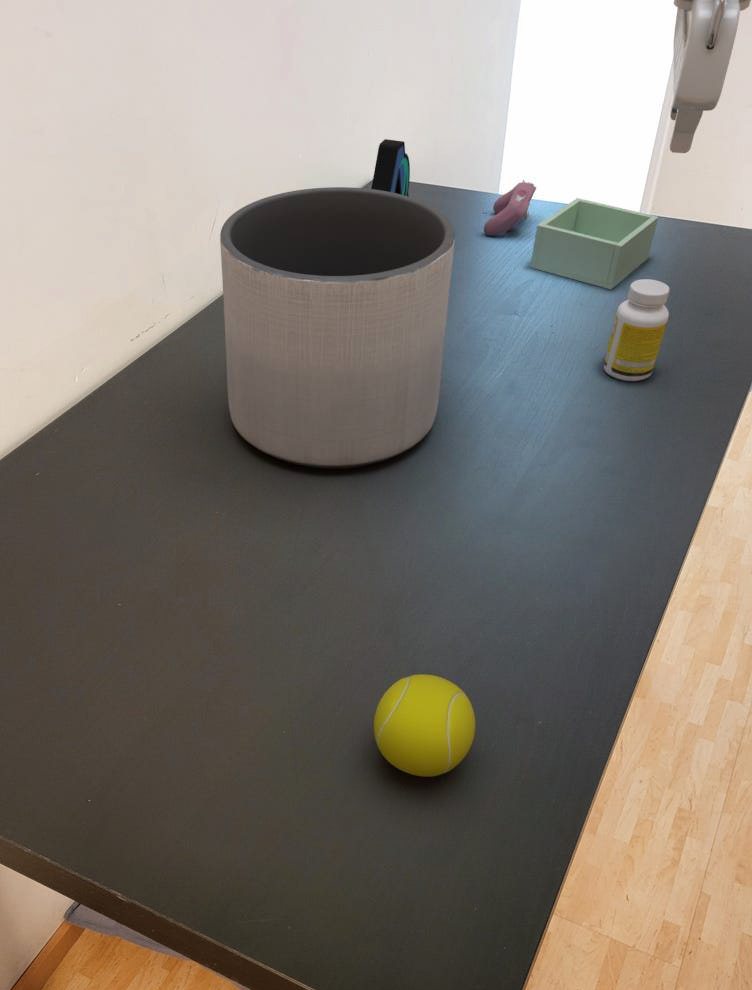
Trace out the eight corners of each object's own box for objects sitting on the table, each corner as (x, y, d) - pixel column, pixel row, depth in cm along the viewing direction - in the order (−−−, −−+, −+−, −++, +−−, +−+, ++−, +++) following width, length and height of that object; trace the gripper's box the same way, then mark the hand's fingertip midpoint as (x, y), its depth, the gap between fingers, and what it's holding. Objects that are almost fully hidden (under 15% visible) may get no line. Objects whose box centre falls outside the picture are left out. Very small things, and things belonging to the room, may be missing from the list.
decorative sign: (368, 289, 122) (374, 167, 112) (351, 286, 123) (355, 164, 113) (416, 235, 134) (426, 120, 124) (400, 232, 135) (408, 118, 125)
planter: (254, 359, 110) (247, 180, 96) (443, 375, 106) (464, 190, 92) (207, 466, 95) (190, 271, 81) (426, 488, 91) (448, 289, 77)
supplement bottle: (661, 378, 105) (687, 293, 98) (618, 386, 104) (641, 301, 97) (635, 355, 109) (658, 272, 102) (593, 363, 108) (613, 280, 101)
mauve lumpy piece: (506, 250, 134) (536, 207, 128) (479, 232, 133) (508, 188, 128) (516, 224, 140) (545, 182, 135) (491, 207, 140) (519, 164, 134)
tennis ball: (358, 776, 67) (362, 713, 62) (389, 708, 72) (396, 643, 67) (453, 808, 65) (465, 745, 60) (479, 735, 69) (492, 671, 64)
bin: (647, 258, 127) (658, 216, 123) (611, 289, 121) (621, 246, 117) (568, 238, 132) (577, 197, 128) (529, 267, 126) (537, 225, 122)
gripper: (770, -14, 73) (716, 174, 82) (755, -63, 86) (710, 103, 96) (684, -16, 74) (641, 169, 84) (682, -64, 88) (646, 100, 98)
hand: (678, 133), depth 90 cm, fingers open, 8 cm apart
